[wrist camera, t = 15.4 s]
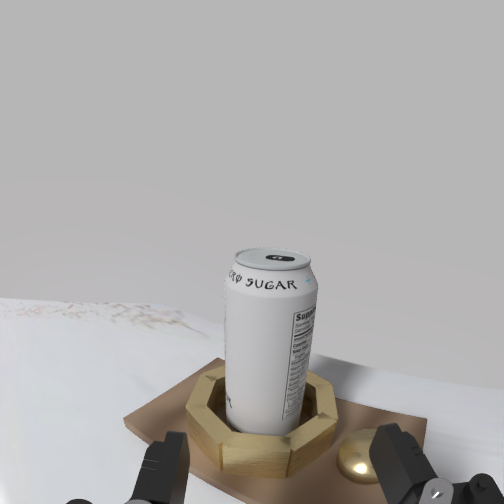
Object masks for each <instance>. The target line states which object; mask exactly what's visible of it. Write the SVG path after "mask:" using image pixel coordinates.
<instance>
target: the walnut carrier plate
mask: <svg viewBox="0 0 504 504" xmlns="http://www.w3.org/2000/svg"><path fill="white" fill-rule="evenodd" d="M224 365H225V360H222V359H220V358H216V359H215V360H213V361H212V362H210V363H209V364H207V365H206V366H204V367H203V368H201V369H200V370H198V371H197V372H195V373H194V374H192V375H191V376H189V377H188V378H186V379H185V380H183V381H182V382H180V383H179V384H177V385H176V386H174V387H173V388H171V389H169V390H168V391H166V392H165V393H163V394H162V395H160V396H158V397H157V398H155V399H154V400H152V401H150V402H149V403H147V404H146V405H144V406H142V407H141V408H139V409H137V410H136V411H134V412H133V413H131V414H129V415H128V416H126V417H124V418H123V419H124V423H125V426H126V427H127V428H128V429H129V430H130V431H132V432H133V433H134V434H135V435H137V436H138V437H139V438H141V439H142V440H143V441H145V442H146V443H147V444H149V445H151V444H152V443H153V442H154V441H161V442H164V440H165V436H166V433H167V431H168V430H169V431H177V432H186V434H187V439H188V445H189V451H190V468H189V472H190V473H192V474H193V475H195V476H197V477H198V478H200V479H202V480H203V481H205V482H207V483H209V484H210V485H212V486H214V487H216V488H218V489H219V490H221V491H223V492H225V493H227V494H229V495H231V496H233V497H235V498H237V499H239V500H241V501H243V502H245V503H247V504H388V503H387V501H386V498H385V495H384V493H383V490H382V488H381V485H380V483H377V484H373V485H362V484H357V483H354V482H351V481H349V480H348V479H346V478H345V477H344V476H343V475H342V474H341V473H340V472H339V470H338V468H337V464H336V459H337V455H338V452H339V450H340V447H341V444H342V442H343V440H344V439H345V438H346V437H347V436H348V435H349V434H351V433H352V432H355V431H357V430H361V429H377V428H378V427H379V426H380V425H385V424H390V423H397V424H398V425H399V427H400V429H401V431H402V432H405V431H407V432H408V433H410V434H411V435H412V436H413V437H415V439H416V441H417V442H418V444H419V447H421V449H422V450H423V444H424V438H425V431H426V424H427V419H426V418H420V417H415V416H410V415H404V414H400V413H395V412H390V411H386V410H381V409H377V408H373V407H368V406H364V405H360V404H356V403H353V402H349V401H345V400H341V399H338V398H335V402H336V408H337V415H338V421H337V424H336V428H335V431H334V435H333V438H332V441H331V444H330V447H329V449H328V450H327V451H326V452H325V453H323V454H322V455H321V456H319V457H318V458H317V459H315V460H314V461H313V462H311V463H310V464H308V465H307V466H306V467H304V468H303V469H301V470H300V471H298V472H297V473H296V474H294V475H293V476H291V477H290V478H288V477H286V476H285V479H272V478H259V477H249V476H240V475H232V474H225V473H224V470H223V471H221V472H220V471H219V470H218V469H217V468H216V466H215V465H214V464H213V463H212V462H211V461H210V460H209V459H208V458H207V456H206V455H205V454H204V453H203V452H202V451H201V450H200V448H199V447H198V446H197V445H196V444H195V443H194V441H193V440H192V439H191V438H190V433H189V426H188V419H187V412H186V404H187V402H188V400H189V398H190V396H191V394H192V391H193V389H194V387H195V385H196V383H197V381H198V379H199V377H200V375H203V373H204V372H207V371H210V370H213V369H216V368H218V367H221V366H224ZM215 415H216V416H217V417H218V418H219V419H220V420H221V421H222V422H223V423H224V424H225V425H226V426H227V421H226V405H225V406H223V407H220V408H218V409H217V411H216V414H215ZM309 420H310V416H309V415H307V414H306V413H304V412H303V411H301V414H300V419H299V424H298V427H300V426H301V425H303V424H305V423H306V422H308V421H309ZM227 427H228V426H227Z"/></svg>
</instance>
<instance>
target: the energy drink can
mask: <svg viewBox="0 0 504 504" xmlns="http://www.w3.org/2000/svg"><path fill="white" fill-rule="evenodd" d="M310 262H311V258H310V256H308V255H307V254H304V253H302V252H298V251H294V250H288V249H280V248H253V249H246V250H242V251H239V252H237V253H236V254H235V263H234V265H233V267H232V269H231V270H230V272H229V274H228V275H227V277H226V279H225V383H226V421H227V426H228V428H229V429H230V430H231V431H233V432H238V433H247V434H257V435H270V436H285V435H287V434H289V433H290V432H292V431H294V430H295V429H297V428H298V424H299V419H300V414H301V408H302V402H303V396H304V390H305V384H306V377H307V371H308V364H309V357H310V350H311V342H312V334H313V327H314V319H315V310H316V301H317V291H318V283H317V281H316V279H315V276H314V274H313V272H312V270H311V267H310Z"/></svg>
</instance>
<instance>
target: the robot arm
mask: <svg viewBox="0 0 504 504" xmlns="http://www.w3.org/2000/svg"><path fill="white" fill-rule="evenodd" d="M369 457H370V461H371V463H372V465H373V468H374V470H375V473H376V475H377V478H378V480H379V483H380V485H381V488H382V490H383V493H384V495H385V498H386V501H387V503H388V504H504V497H503V495H502V493H501V491H500V490H499V488H498V486H497V485H496V483H495V481H494V480H493V478H492V477H491V476H490V475H488V474H484V473H480V474H477V475H475V476H473V477H472V479H471V480H470V481H469V482H464V483H455V484H451V483H450V482H449V481H448V480H446V479H443V478H438V477H437V475H436V474H435V472H434V470H433V468H432V466H431V465H430V463H429V461H428V460H427V458H426V456H425V454H423V451H422V449H421V447H419V444H418V442H417V441H416V439H415V437H413V436H412V435H411V434H410V433H408V432H407V431H405V432H402V431H401V429H400V427H399V425H398V424H397V423H390V424H385V425H380V426H379V427H378V428H377V431H376V433H375V436H374V438H373V440H372V443H371V445H370V448H369ZM189 468H190V451H189V445H188V439H187V434H186V432H177V431H169V430H168V431H167V433H166V436H165V440H164V442H161V441H154V442H153V443H152V444H151V445H150V446H149V447H148V448H147V450H146V453H145V456H144V460H143V462H142V466H141V469H140V472H139V475H138V478H137V481H136V485H135V488H134V491H133V494H132V497H131V498H130V500H129V501H128V502H126V503H125V504H184V498H185V492H186V485H187V479H188V473H189ZM66 504H92V503H91V502H89V501H87V500H84V499H74V500H71V501H69V502H68V503H66Z"/></svg>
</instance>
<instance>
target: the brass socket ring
mask: <svg viewBox="0 0 504 504" xmlns="http://www.w3.org/2000/svg"><path fill="white" fill-rule="evenodd" d="M330 384H331V383H330V382H329V381H327V380H325V379H323V378H321V377H320V376H318V375H316V374H314V373H313V372H311V371H309V370H308V371H307V377H306V384H305V390H304V396H303V402H302V408H301V411H303V412H304V413H306V414H307V415H309V416H310V420H309V421H308V422H306V423H305V424H303V425H301V426H300V427H298V428H297V429H295V430H294V431H292V432H290V433H289V434H287V435H285V436H270V435H257V434H247V433H238V432H233V431H231V430H230V429H229V428H228V427H227V426H226V425H225V424H224V423H223V422H222V421H221V420H220V419H219V418H218V417H217V416H216V415H215V414H216V411H217V409H218V408H220V407H223V406H225V405H226V383H225V365H224V366H221V367H218V368H216V369H213V370H210V371H207V372H204V373H203V375H200V377H199V379H198V381H197V383H196V385H195V387H194V389H193V391H192V394H191V396H190V398H189V400H188V402H187V404H186V412H187V419H188V426H189V433H190V438H191V439H192V440H193V441H194V443H195V444H196V445H197V446H198V447H199V448H200V450H201V451H202V452H203V453H204V454H205V455H206V456H207V458H208V459H209V460H210V461H211V462H212V463H213V464H214V465H215V466H216V468H217V469H218V470H219V471H220V472H221V471H223V470H224V473H225V474H232V475H240V476H249V477H259V478H272V479H285V476H286V477H288V478H290V477H291V476H293V475H294V474H296V473H297V472H298V471H300V470H301V469H303V468H304V467H306V466H307V465H308V464H310V463H311V462H313V461H314V460H315V459H317V458H318V457H319V456H321V455H322V454H323V453H325V452H326V451H327V450H328V449H329V447H330V444H331V441H332V438H333V435H334V431H335V428H336V424H337V421H338V415H337V408H336V402H335V396H334V391H333V385H330ZM376 431H377V429H361V430H357V431H355V432H352V433H351V434H349V435H348V436H347V437H346V438H345V439H344V440H343V442H342V444H341V447H340V450H339V452H338V455H337V459H336V464H337V468H338V470H339V472H340V473H341V474H342V475H343V476H344V477H345V478H346V479H348V480H349V481H351V482H354V483H357V484H362V485H373V484H377V483H379V480H378V478H377V475H376V473H375V470H374V468H373V465H372V463H371V461H370V457H369V448H370V445H371V443H372V440H373V438H374V436H375V433H376Z"/></svg>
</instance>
